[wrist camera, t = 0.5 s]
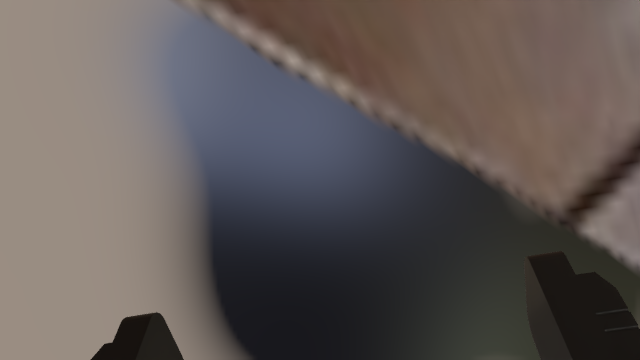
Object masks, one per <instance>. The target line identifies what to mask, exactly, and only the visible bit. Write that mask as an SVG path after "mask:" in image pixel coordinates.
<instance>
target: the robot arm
mask: <svg viewBox="0 0 640 360" xmlns="http://www.w3.org/2000/svg"><path fill="white" fill-rule="evenodd" d="M524 269H525V285H526V286H525V287H526V304H527V315H528V320H529V325H530V330H531V333H532V337H533V340H534V343H535V345H536V348H537V350H538V353H539V356H540V358H541V360H640V329H639V328H638V324H637V322H636V321H635V319H634V317H633V316H632V314H631V312H629V311H628V307H627V306H626V304H625V302H624V301H623V299H622V297H621V296H620V294H619V292H618V290H617V289H616V288H615V287H614V286H613V285H611V284H610V283H609V282H607V281H606V280H605V279H603V278H602V277H600V276H599V275H598V274H597V273H595V272H592V273H585V274H578V275H575V273H574V271H573V269H572V267H571V265H570V263H569V261H568V260H567V258H566V256H565V254H564V253H563V252H562V251H559V252H552V253H546V254H540V255H533V256H526V257H525V259H524ZM91 360H184V359H183V357H182V355H181V353H180V351H179V349H178V346H177V344H176V342H175V340H174V338H173V336H172V334H171V332H170V330H169V328H168V326H167V324H166V322H165V320H164V318H163V316H162V315H161V314H160V313H150V314H144V315H137V316H131V317H126V318H124V319H123V320H122V322H121V324H120V326H119V329H118V331H117V334H116V336H115V338H114V340H113V343H107V344H104V345H103V346H102V347H101V349H100V350H99V351H98V352H97V353H96V354H95V355H94V357H93V358H92V359H91Z"/></svg>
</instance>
